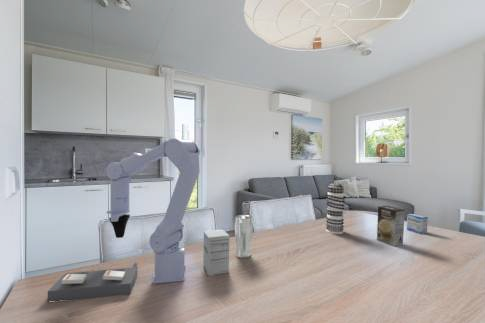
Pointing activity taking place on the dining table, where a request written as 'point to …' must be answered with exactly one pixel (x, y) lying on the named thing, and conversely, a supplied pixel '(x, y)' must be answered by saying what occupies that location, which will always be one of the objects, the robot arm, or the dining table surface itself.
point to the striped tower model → (335, 208)
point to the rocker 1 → (74, 278)
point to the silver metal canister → (243, 235)
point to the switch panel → (94, 285)
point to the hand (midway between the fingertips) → (119, 237)
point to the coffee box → (390, 225)
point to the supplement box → (216, 252)
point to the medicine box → (417, 223)
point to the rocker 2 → (114, 275)
